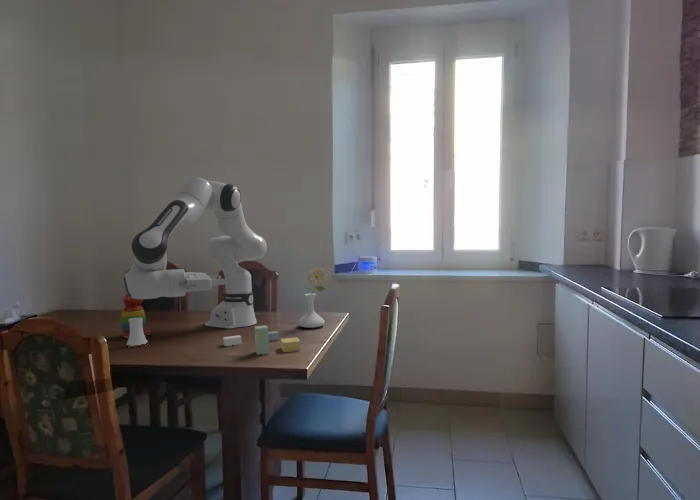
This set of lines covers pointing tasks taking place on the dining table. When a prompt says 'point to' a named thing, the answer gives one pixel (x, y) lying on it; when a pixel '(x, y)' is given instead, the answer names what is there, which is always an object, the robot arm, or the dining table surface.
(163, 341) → the dining table surface
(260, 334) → the green brick
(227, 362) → the dining table surface
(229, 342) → the cream brick
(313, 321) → the flower in vase
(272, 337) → the slate brick
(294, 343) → the mustard brick
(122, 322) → the stacking bear
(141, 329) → the vase
